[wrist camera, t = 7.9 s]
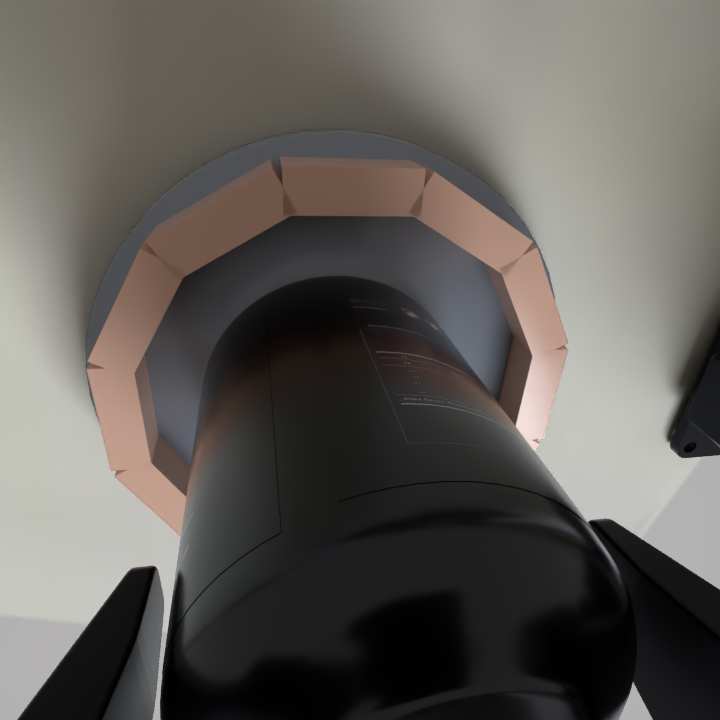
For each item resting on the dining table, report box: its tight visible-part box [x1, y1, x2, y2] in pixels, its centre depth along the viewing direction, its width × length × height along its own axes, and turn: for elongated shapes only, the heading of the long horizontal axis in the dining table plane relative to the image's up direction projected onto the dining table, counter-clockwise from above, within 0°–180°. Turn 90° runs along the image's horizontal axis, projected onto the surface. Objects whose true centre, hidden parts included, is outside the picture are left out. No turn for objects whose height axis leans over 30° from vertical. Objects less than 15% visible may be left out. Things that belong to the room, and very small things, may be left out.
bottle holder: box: [86, 129, 568, 536], centre depth 15 cm, size 13×13×2 cm
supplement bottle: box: [160, 276, 637, 720], centre depth 9 cm, size 7×7×12 cm
